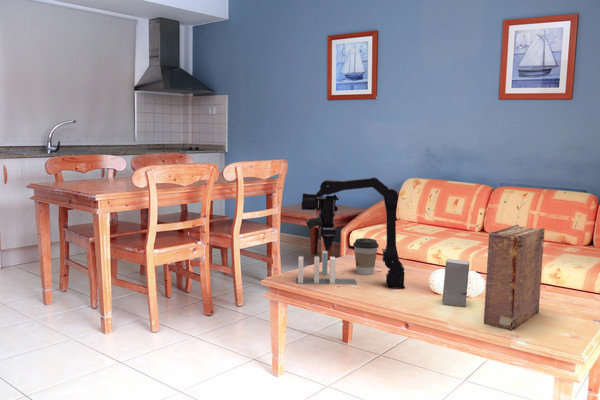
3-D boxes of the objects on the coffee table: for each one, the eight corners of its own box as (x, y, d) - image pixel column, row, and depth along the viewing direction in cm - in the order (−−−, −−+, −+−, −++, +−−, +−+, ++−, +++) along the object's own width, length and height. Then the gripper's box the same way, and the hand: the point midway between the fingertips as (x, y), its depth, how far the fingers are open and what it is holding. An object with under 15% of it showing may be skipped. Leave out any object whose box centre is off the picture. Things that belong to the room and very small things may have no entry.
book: (512, 306, 190) (517, 224, 186) (539, 312, 184) (545, 227, 180) (483, 323, 171) (488, 232, 168) (512, 331, 165) (518, 236, 161)
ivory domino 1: (318, 279, 220) (319, 256, 218) (318, 283, 215) (319, 259, 213) (313, 279, 220) (314, 256, 218) (314, 283, 215) (314, 259, 213)
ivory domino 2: (334, 280, 220) (334, 256, 218) (334, 283, 215) (335, 259, 213) (329, 280, 220) (329, 256, 218) (329, 283, 215) (330, 259, 213)
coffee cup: (349, 270, 238) (350, 237, 236) (374, 270, 239) (375, 237, 238) (355, 276, 227) (356, 242, 225) (380, 276, 228) (382, 242, 226)
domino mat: (355, 279, 222) (355, 279, 222) (357, 285, 214) (357, 284, 214) (295, 278, 222) (295, 277, 222) (295, 284, 214) (295, 283, 214)
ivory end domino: (303, 279, 220) (303, 256, 218) (303, 282, 215) (303, 258, 213) (298, 279, 220) (298, 256, 218) (298, 282, 215) (298, 258, 213)
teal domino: (326, 273, 233) (327, 250, 231) (327, 276, 228) (327, 253, 226) (322, 273, 233) (322, 250, 231) (322, 275, 228) (323, 253, 226)
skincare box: (442, 304, 190) (444, 261, 189) (443, 299, 197) (445, 257, 195) (466, 307, 187) (468, 264, 186) (467, 301, 194) (469, 259, 192)
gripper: (306, 207, 222) (305, 244, 223) (307, 213, 203) (307, 253, 205) (332, 208, 222) (331, 244, 224) (336, 214, 203) (335, 253, 205)
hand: (326, 248), depth 214 cm, fingers open, 9 cm apart
